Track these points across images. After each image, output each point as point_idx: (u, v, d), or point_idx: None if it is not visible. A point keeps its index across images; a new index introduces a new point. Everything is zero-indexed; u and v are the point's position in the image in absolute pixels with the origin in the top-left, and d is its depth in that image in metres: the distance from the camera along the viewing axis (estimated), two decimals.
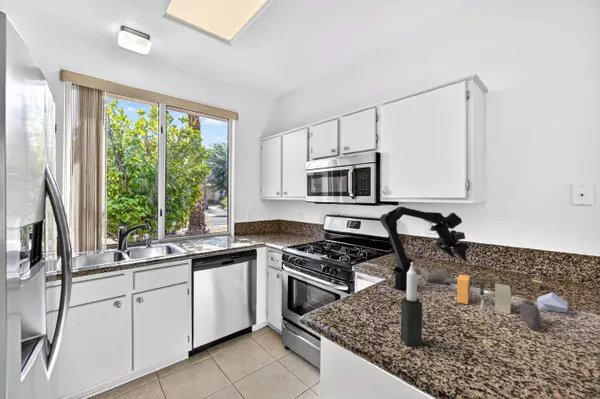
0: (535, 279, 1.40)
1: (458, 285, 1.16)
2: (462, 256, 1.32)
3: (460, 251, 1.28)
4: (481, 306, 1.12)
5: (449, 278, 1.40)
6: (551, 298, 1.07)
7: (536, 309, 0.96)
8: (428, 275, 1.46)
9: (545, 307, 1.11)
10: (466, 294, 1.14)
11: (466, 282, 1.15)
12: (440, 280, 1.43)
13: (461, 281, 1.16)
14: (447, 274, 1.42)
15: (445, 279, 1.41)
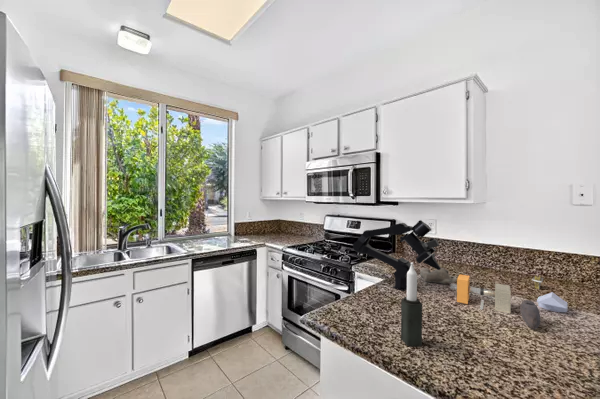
0: (535, 279, 1.40)
1: (458, 285, 1.16)
2: (432, 264, 1.26)
3: (418, 261, 1.22)
4: (481, 306, 1.12)
5: (447, 278, 1.40)
6: (551, 298, 1.07)
7: (536, 309, 0.96)
8: (427, 275, 1.46)
9: (545, 307, 1.11)
10: (466, 294, 1.14)
11: (466, 282, 1.15)
12: (438, 280, 1.43)
13: (461, 281, 1.16)
14: (445, 274, 1.41)
15: (443, 279, 1.41)
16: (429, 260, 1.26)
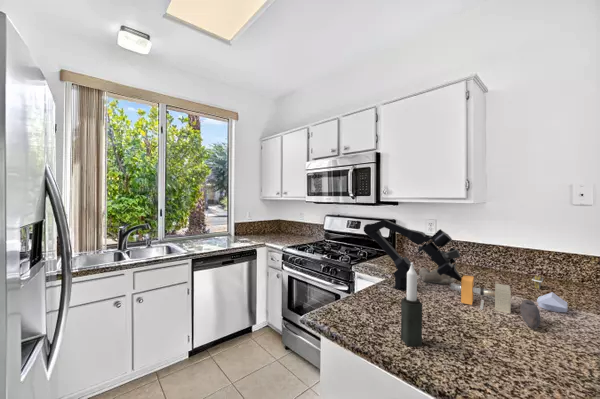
0: (535, 279, 1.41)
1: (462, 286, 1.15)
2: (453, 276, 1.21)
3: (440, 273, 1.17)
4: (481, 306, 1.12)
5: (446, 278, 1.40)
6: (551, 299, 1.07)
7: (536, 309, 0.96)
8: (425, 275, 1.46)
9: (545, 307, 1.11)
10: (470, 295, 1.13)
11: (470, 283, 1.14)
12: (437, 280, 1.43)
13: (465, 282, 1.15)
14: (444, 274, 1.41)
15: (442, 279, 1.41)
16: (450, 271, 1.21)
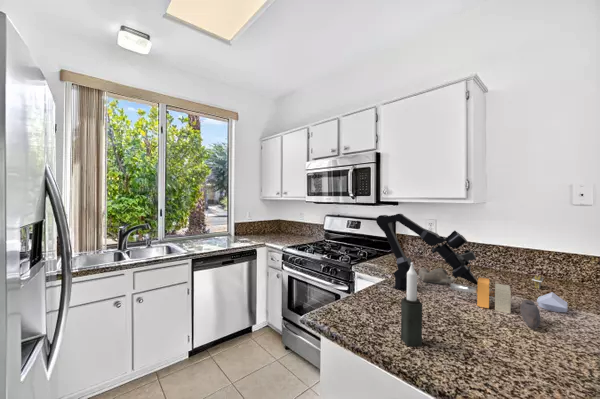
0: (535, 279, 1.41)
1: (479, 289, 1.12)
2: (468, 278, 1.17)
3: (455, 275, 1.13)
4: None
5: (445, 278, 1.40)
6: (551, 298, 1.07)
7: (536, 309, 0.96)
8: (424, 275, 1.46)
9: (545, 307, 1.11)
10: (487, 298, 1.10)
11: (487, 285, 1.10)
12: (436, 280, 1.42)
13: (482, 284, 1.11)
14: (443, 274, 1.41)
15: (441, 279, 1.41)
16: (465, 274, 1.18)
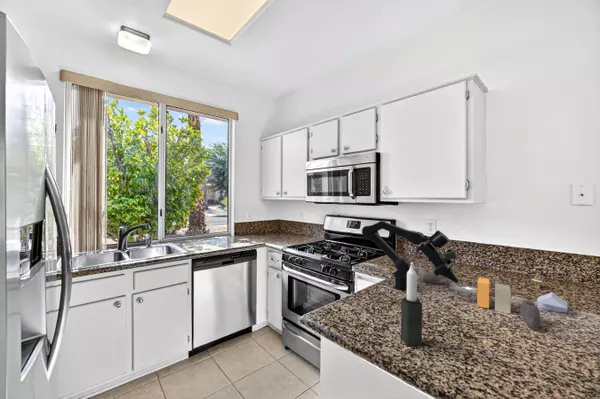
0: (535, 279, 1.41)
1: (479, 289, 1.12)
2: (449, 277, 1.21)
3: (436, 273, 1.18)
4: None
5: (444, 278, 1.39)
6: (551, 298, 1.07)
7: (536, 309, 0.96)
8: (424, 275, 1.46)
9: (545, 307, 1.11)
10: (487, 298, 1.10)
11: (487, 285, 1.10)
12: (435, 280, 1.42)
13: (482, 284, 1.11)
14: None
15: (440, 279, 1.41)
16: (447, 272, 1.22)
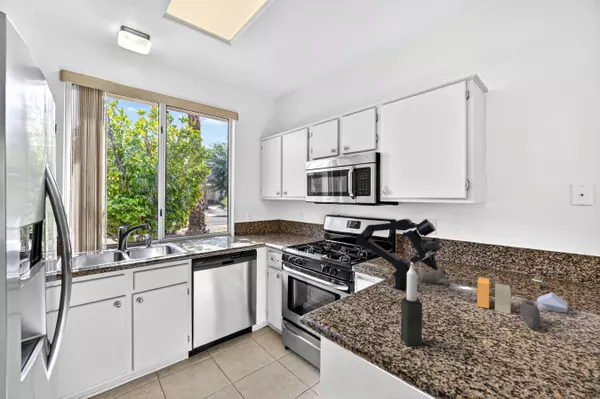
0: (535, 278, 1.41)
1: (479, 289, 1.12)
2: (429, 264, 1.27)
3: (412, 262, 1.25)
4: None
5: (443, 278, 1.39)
6: (551, 298, 1.07)
7: (536, 309, 0.96)
8: (423, 275, 1.46)
9: (545, 307, 1.11)
10: (487, 298, 1.10)
11: (487, 285, 1.10)
12: (434, 280, 1.42)
13: (482, 284, 1.11)
14: (441, 274, 1.41)
15: (439, 279, 1.41)
16: (427, 260, 1.27)
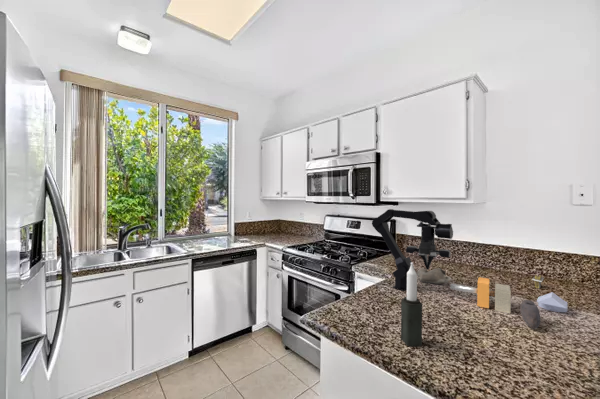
0: (535, 278, 1.41)
1: (479, 289, 1.12)
2: None
3: None
4: None
5: (442, 278, 1.39)
6: (551, 298, 1.07)
7: (536, 309, 0.96)
8: (422, 275, 1.47)
9: (545, 307, 1.11)
10: (487, 298, 1.10)
11: (487, 285, 1.10)
12: (433, 280, 1.42)
13: (482, 284, 1.11)
14: (440, 274, 1.41)
15: (438, 279, 1.41)
16: None
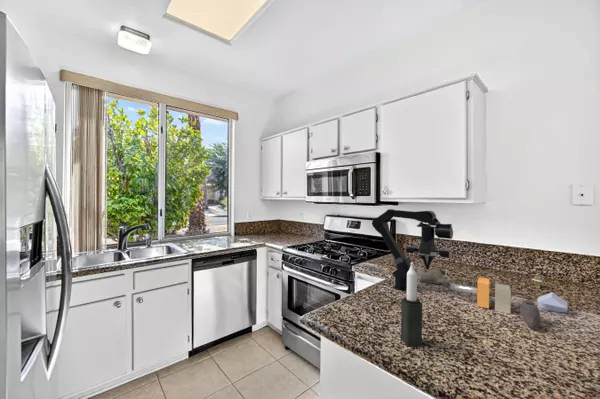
0: (535, 278, 1.42)
1: (479, 289, 1.12)
2: None
3: None
4: None
5: (441, 279, 1.39)
6: (551, 298, 1.07)
7: (536, 309, 0.96)
8: (421, 275, 1.47)
9: (545, 307, 1.11)
10: (487, 298, 1.10)
11: (487, 285, 1.10)
12: (433, 280, 1.42)
13: (482, 284, 1.11)
14: (440, 274, 1.41)
15: (437, 279, 1.41)
16: None
